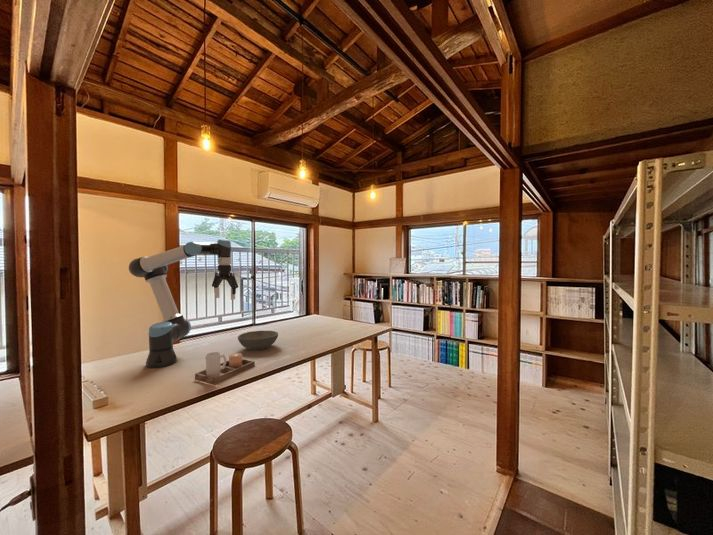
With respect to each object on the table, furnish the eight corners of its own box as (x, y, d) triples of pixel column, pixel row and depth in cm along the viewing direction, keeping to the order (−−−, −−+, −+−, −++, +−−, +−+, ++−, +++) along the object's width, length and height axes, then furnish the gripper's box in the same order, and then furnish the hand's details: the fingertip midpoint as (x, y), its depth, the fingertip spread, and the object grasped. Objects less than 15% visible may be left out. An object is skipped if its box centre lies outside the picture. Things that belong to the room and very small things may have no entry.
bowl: (230, 354, 189) (230, 339, 188) (247, 342, 215) (247, 328, 214) (271, 355, 188) (271, 339, 187) (283, 342, 214) (282, 329, 214)
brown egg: (226, 368, 163) (226, 356, 163) (236, 364, 170) (236, 352, 169) (235, 370, 160) (235, 358, 160) (245, 366, 167) (245, 354, 167)
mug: (208, 380, 147) (208, 357, 147) (204, 376, 152) (203, 354, 152) (229, 375, 155) (228, 352, 154) (224, 371, 159) (223, 349, 159)
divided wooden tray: (195, 379, 150) (195, 373, 150) (235, 362, 174) (235, 357, 174) (215, 384, 144) (215, 378, 144) (254, 366, 168) (254, 361, 168)
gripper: (205, 264, 183) (205, 298, 184) (234, 265, 173) (234, 300, 174) (215, 264, 190) (216, 296, 191) (244, 264, 180) (244, 299, 180)
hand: (225, 298), depth 182 cm, fingers open, 13 cm apart
